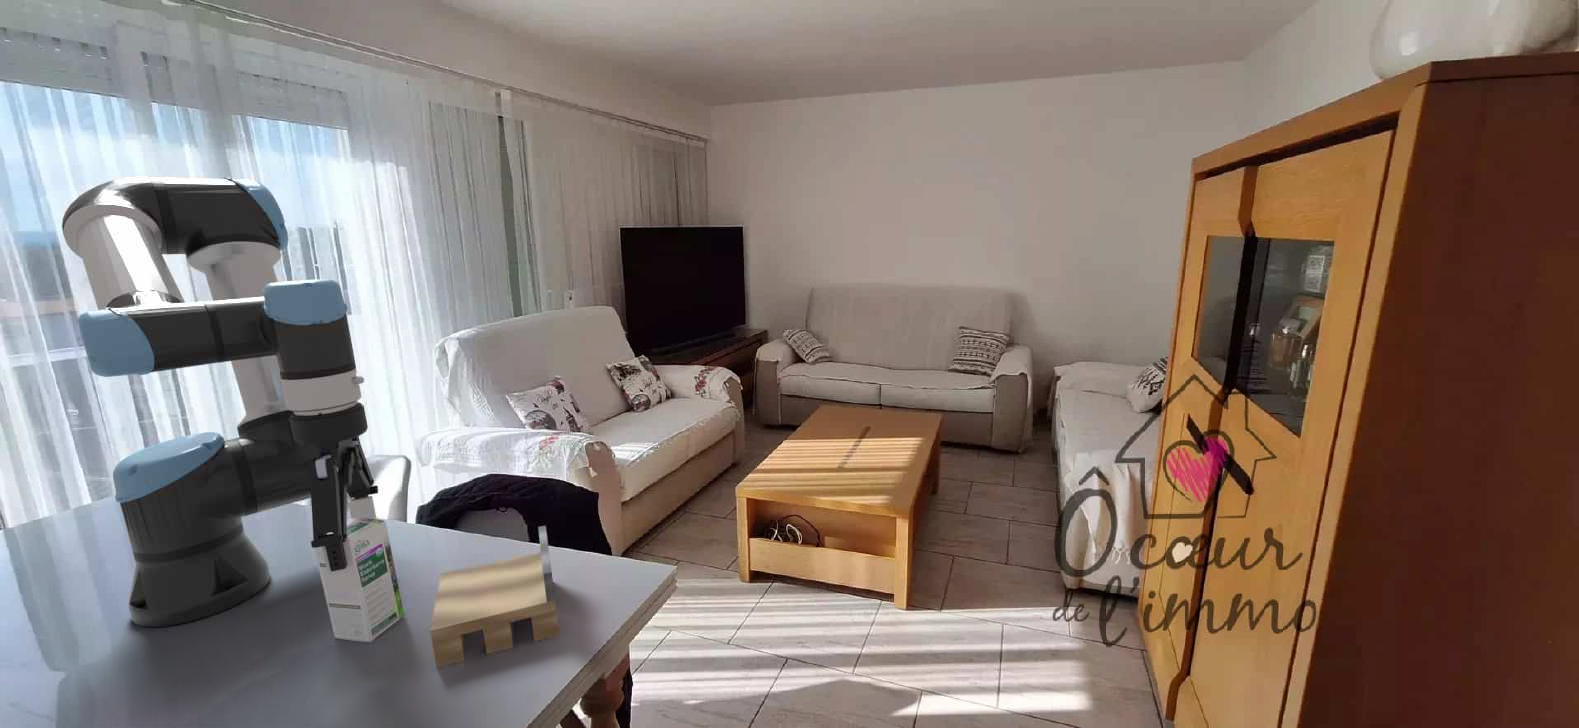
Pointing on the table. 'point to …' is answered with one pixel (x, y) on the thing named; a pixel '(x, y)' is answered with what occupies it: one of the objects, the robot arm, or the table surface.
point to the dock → (494, 603)
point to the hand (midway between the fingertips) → (358, 565)
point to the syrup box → (365, 585)
